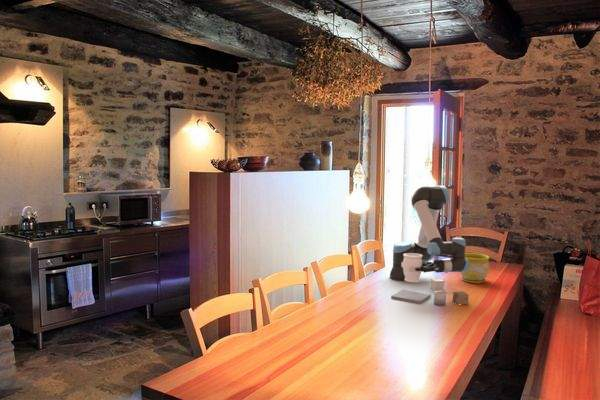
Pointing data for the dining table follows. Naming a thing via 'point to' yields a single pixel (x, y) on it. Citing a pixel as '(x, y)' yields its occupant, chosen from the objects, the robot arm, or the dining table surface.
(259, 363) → the dining table surface
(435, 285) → the offwhite block
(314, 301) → the dining table surface
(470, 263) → the flowerpot
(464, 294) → the walnut block
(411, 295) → the slate board
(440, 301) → the metal tin
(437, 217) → the robot arm
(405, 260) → the jar
